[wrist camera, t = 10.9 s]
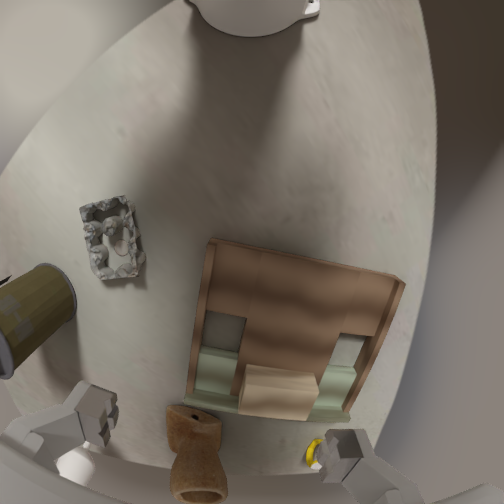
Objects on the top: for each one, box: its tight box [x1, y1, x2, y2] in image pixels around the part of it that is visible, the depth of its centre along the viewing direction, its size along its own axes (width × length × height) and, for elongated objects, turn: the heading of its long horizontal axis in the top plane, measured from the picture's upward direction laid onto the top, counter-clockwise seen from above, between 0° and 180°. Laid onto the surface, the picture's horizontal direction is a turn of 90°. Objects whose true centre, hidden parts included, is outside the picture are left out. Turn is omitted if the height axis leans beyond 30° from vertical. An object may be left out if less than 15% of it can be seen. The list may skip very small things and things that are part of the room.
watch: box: [306, 439, 323, 469], centre depth 45 cm, size 6×3×6 cm, turn 162°
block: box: [238, 364, 319, 421], centre depth 39 cm, size 6×10×4 cm, turn 78°
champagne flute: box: [56, 441, 95, 487], centre depth 35 cm, size 7×7×24 cm
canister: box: [0, 263, 76, 379], centre depth 30 cm, size 11×10×20 cm
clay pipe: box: [166, 405, 228, 504], centre depth 39 cm, size 15×12×15 cm
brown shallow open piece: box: [184, 238, 406, 422], centre depth 39 cm, size 24×26×5 cm
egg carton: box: [79, 195, 146, 280], centre depth 36 cm, size 11×8×4 cm
